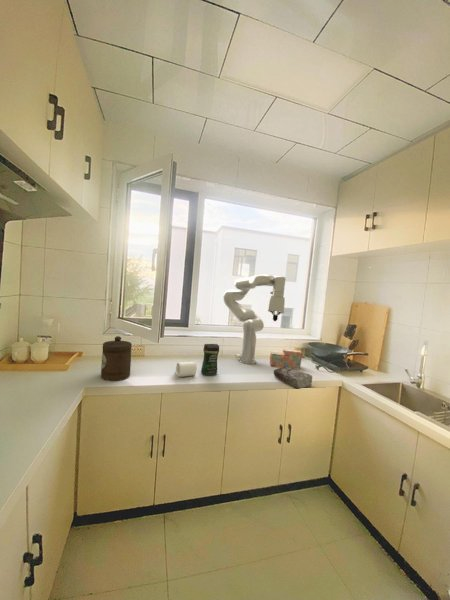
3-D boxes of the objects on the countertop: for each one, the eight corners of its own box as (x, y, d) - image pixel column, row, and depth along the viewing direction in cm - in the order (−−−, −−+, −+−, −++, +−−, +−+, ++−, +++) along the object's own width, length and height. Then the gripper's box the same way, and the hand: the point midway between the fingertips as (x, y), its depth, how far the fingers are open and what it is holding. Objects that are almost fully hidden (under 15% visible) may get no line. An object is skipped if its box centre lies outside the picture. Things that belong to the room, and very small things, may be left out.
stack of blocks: (270, 366, 184) (272, 349, 183) (269, 363, 190) (270, 347, 190) (300, 369, 184) (302, 352, 183) (298, 366, 190) (299, 350, 189)
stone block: (287, 363, 168) (313, 374, 152) (287, 374, 169) (313, 385, 153) (273, 369, 161) (298, 380, 144) (273, 379, 162) (298, 392, 146)
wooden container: (105, 370, 148) (108, 333, 146) (132, 371, 150) (135, 334, 148) (96, 380, 133) (99, 338, 131) (126, 381, 135) (129, 340, 133)
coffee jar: (203, 376, 152) (206, 345, 151) (199, 371, 160) (202, 342, 158) (218, 375, 156) (221, 345, 155) (214, 370, 163) (216, 342, 162)
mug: (196, 377, 150) (197, 364, 149) (179, 379, 145) (180, 365, 145) (189, 370, 160) (190, 357, 160) (173, 371, 156) (174, 358, 155)
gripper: (266, 293, 172) (263, 320, 173) (289, 295, 168) (285, 323, 169) (267, 293, 179) (264, 318, 181) (289, 295, 175) (286, 321, 177)
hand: (274, 320), depth 175 cm, fingers closed
